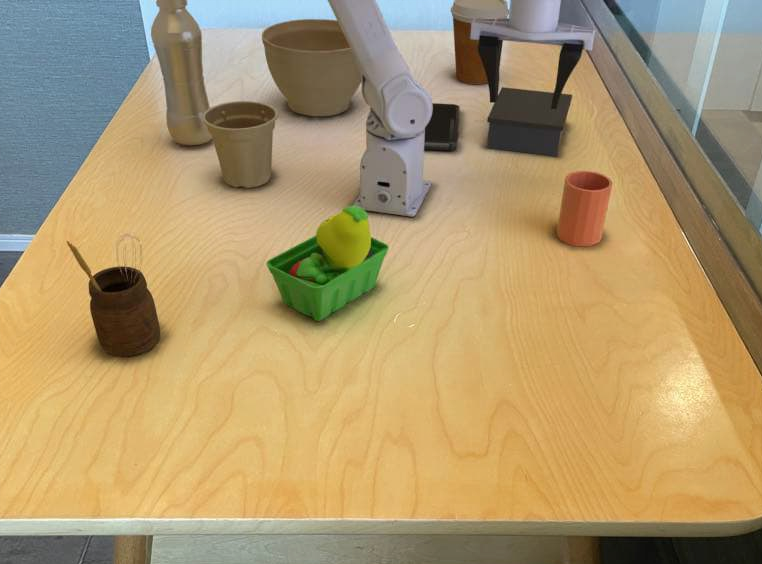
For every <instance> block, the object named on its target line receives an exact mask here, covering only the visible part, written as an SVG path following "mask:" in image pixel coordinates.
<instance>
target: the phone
mask: <svg viewBox="0 0 762 564" xmlns="http://www.w3.org/2000/svg"><path fill="white" fill-rule="evenodd" d="M432 104H433V110H432V116H431V118H430V121H429V122H428V124H427V126H426V127H425V141H424V151H439V152H440V151H443V152H452V151H456V150H457V149H458V147H457V146H458V142H459V141H458V139H459V124H460V123H459V121H460V110H461V109H460V105H458V104H455V103H438V102H437V103H435V102H432Z"/></svg>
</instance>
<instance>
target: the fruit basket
mask: <svg viewBox="0 0 762 564" xmlns="http://www.w3.org/2000/svg"><path fill="white" fill-rule="evenodd" d="M369 222H370V221H369V215H368V213H367V211H366V210H364V209H363V208H361V207H357V206H353V205H348V206H346V207H344V208H343V209H342V211H341V212H338V213H336V214H333V215H331V216H329V217H328V218H327V219H325V220H324V221H322V222H321V223H320V225H319V226H318V228H317V230H316V233H315V235H313V236H311V237H310V238H307V239H306V240H304V241H303V242H299V243H298V244H297V245H294V246H293V247H291V248H288V249H287V250H285V251H284V252H281V253H280V254H278V255H275V256H274V257H271V258H270V259H268V260H267V261H266V266H267V269H268V270H269V272H270V274H271V275H272V277H273V279H274V282H275V285H276V287H277V289H278V292H279V294H280V296H281V299H282V301H283V303H284V305H285V306H289V307H291V308H293V309H294V310H295V311H297V312H300V313H302V314H303V315H305V316H306V317H311V318H313V320H314V321H316V322H321V321H322V320H324V319H325V318H327V317H329V316H330V315H331V313H335V312H337V311H338V310H340V309H342V308H343V307H345V306H346V305H347V304H348V303H352V302H353V301H355V300H356V299H358V298H360V297H361V295H363V294H365V293H368V292H369V291H371V290H372V289H374V288H375V287H376V283H377V280H378V277H379V274H380V271H381V268H382V265H383V262H384V258H385V257H386V256H387V254H388V251H389V248H390V246H389V245H388V244H387V243H385V242H383V241H380V240H378V239H376V238H374V237H373V236H372V234H371V231H370V229H371V228H370V223H369Z"/></svg>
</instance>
